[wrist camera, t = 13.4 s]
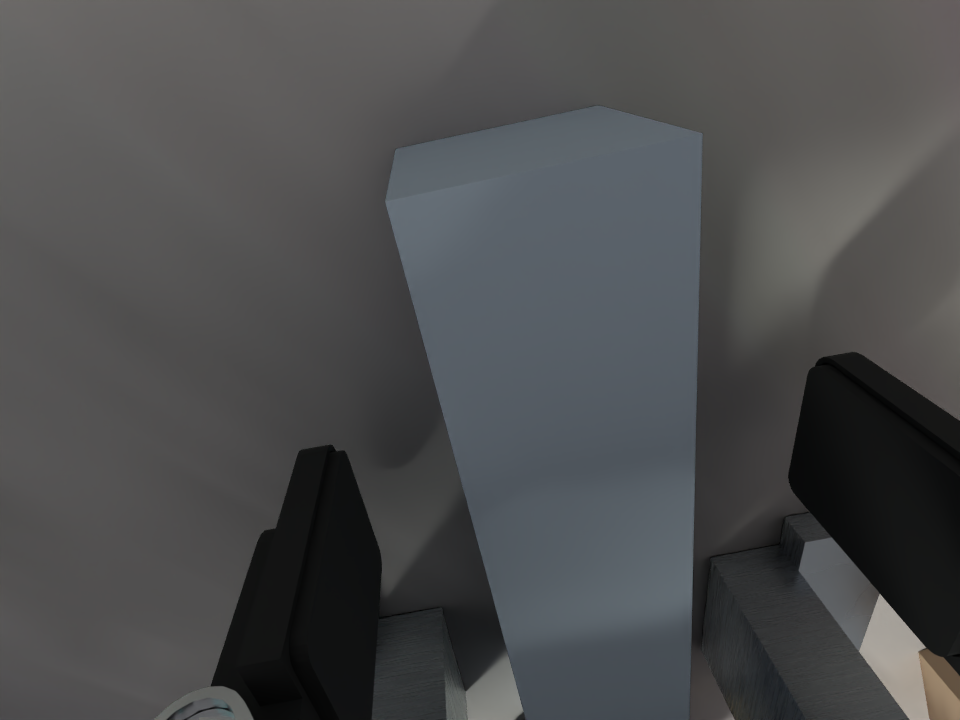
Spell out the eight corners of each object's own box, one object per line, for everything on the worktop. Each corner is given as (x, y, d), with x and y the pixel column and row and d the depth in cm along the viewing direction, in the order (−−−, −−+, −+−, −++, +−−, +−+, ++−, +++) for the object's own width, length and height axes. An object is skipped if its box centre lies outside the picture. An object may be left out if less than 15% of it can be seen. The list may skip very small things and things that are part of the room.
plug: (668, 757, 19) (743, 963, 15) (527, 788, 19) (561, 1003, 15) (658, 92, 8) (918, 132, 4) (335, 161, 8) (250, 275, 4)
